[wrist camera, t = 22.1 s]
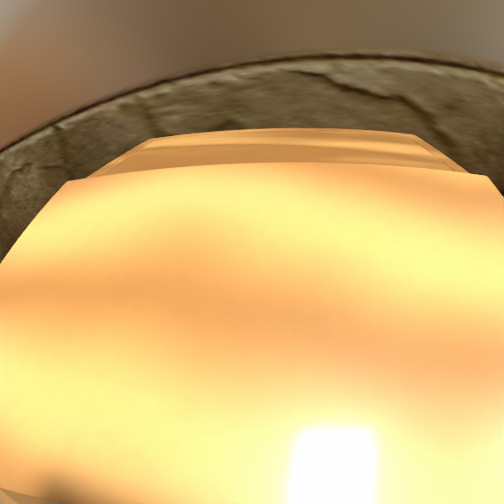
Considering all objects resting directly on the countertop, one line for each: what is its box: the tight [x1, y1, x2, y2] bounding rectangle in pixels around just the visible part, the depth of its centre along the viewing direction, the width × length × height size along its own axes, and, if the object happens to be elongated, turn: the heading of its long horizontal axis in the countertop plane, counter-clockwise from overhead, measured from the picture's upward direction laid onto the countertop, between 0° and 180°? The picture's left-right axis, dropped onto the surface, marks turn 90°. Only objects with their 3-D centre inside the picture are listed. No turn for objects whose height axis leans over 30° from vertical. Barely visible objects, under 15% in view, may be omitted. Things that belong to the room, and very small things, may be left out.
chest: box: [87, 128, 468, 178], centre depth 17 cm, size 12×17×8 cm
